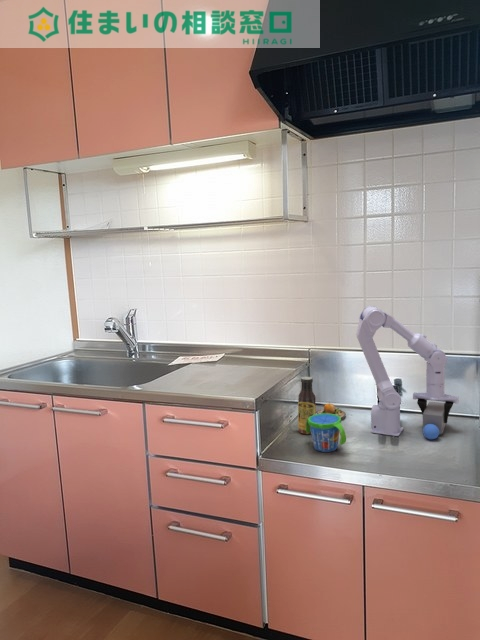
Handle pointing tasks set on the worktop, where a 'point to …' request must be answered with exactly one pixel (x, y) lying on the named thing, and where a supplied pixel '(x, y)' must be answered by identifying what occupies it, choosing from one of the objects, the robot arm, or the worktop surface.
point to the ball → (431, 431)
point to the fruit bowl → (332, 411)
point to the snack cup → (325, 431)
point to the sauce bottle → (305, 403)
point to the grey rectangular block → (434, 415)
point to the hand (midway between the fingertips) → (435, 421)
